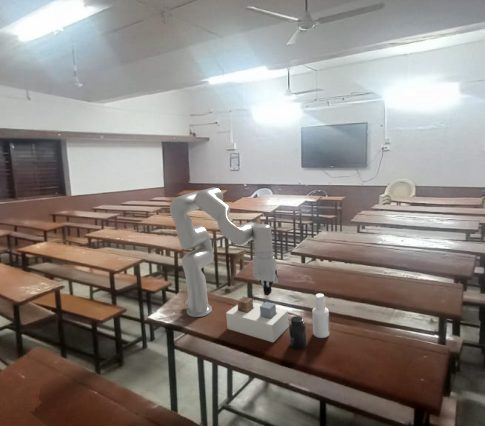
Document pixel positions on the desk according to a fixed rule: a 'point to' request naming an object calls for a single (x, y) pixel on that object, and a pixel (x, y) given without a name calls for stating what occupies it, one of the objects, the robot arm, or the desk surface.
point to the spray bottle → (320, 317)
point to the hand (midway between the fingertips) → (267, 293)
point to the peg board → (258, 322)
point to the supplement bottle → (297, 333)
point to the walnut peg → (245, 304)
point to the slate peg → (268, 310)
